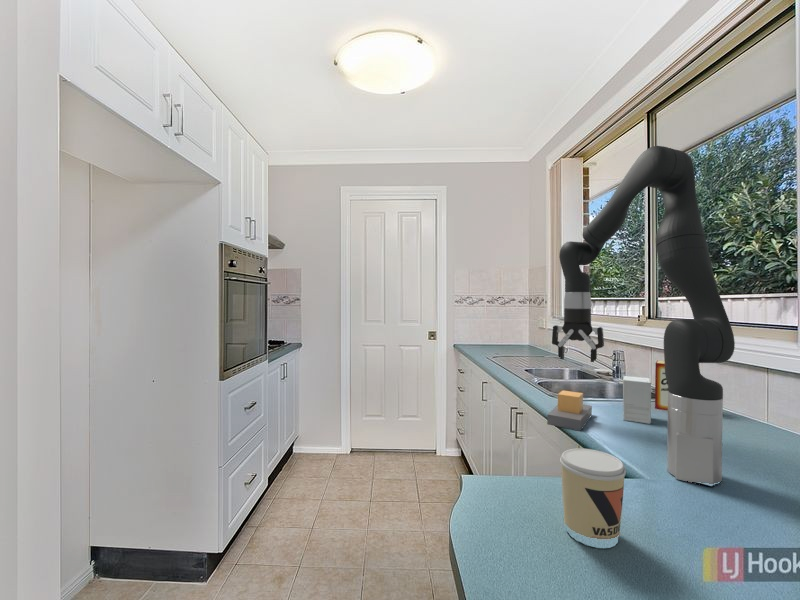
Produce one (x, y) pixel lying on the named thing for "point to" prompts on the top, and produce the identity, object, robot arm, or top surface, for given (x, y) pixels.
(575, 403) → the orange kitchen sponge
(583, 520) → the coffee cup
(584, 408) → the board
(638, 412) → the supplement box
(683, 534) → the top surface
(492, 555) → the top surface
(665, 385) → the baking soda box
